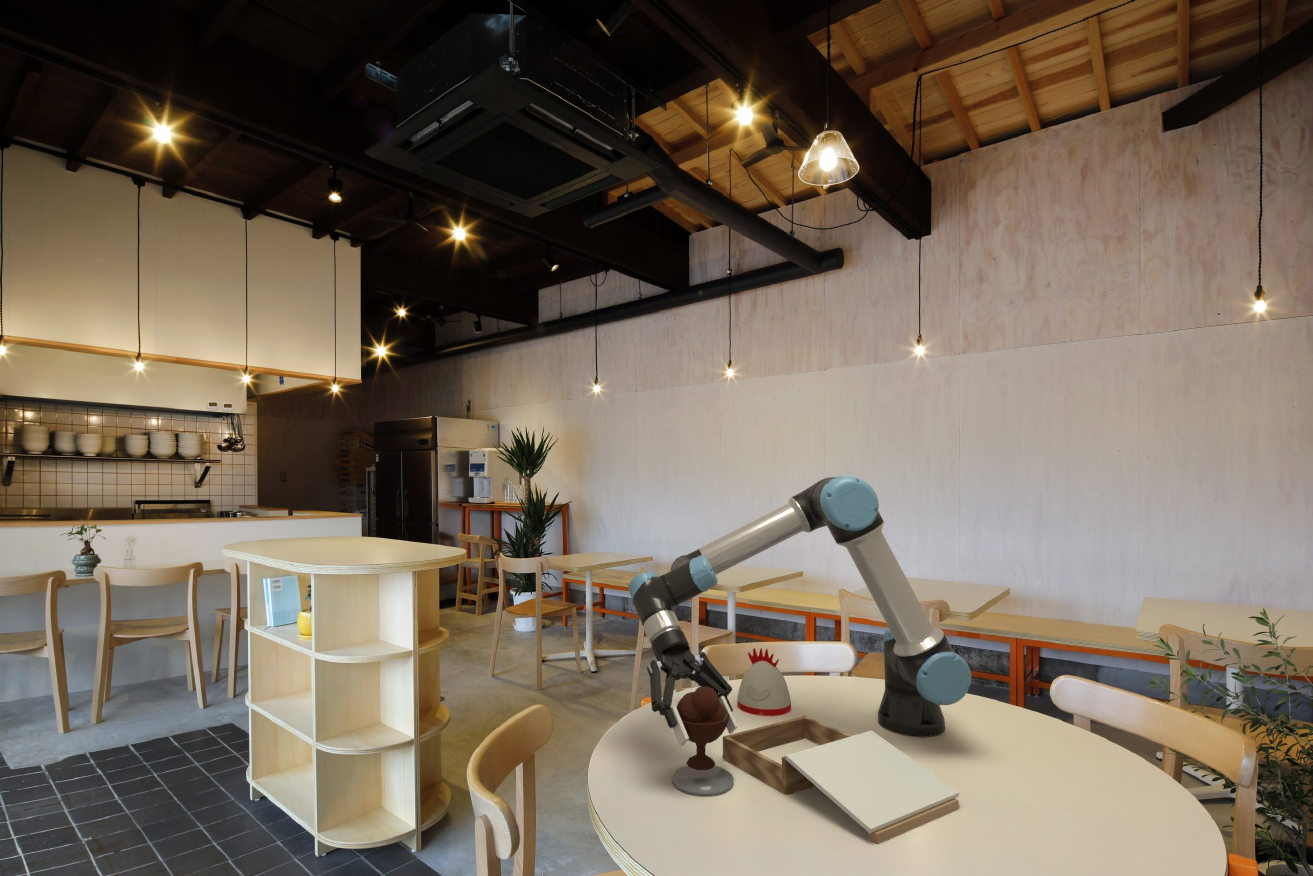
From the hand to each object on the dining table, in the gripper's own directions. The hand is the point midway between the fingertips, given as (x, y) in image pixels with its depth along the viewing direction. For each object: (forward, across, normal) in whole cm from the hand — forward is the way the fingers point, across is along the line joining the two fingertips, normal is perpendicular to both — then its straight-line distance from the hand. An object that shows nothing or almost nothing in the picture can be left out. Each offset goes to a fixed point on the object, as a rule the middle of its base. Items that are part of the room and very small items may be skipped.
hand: (709, 736), depth 124 cm
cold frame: (+7, -22, -6) cm, 24 cm away
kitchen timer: (-14, -40, -28) cm, 50 cm away
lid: (+21, -22, +7) cm, 31 cm away
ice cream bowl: (+3, 0, -6) cm, 7 cm away
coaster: (+5, 0, -8) cm, 10 cm away
